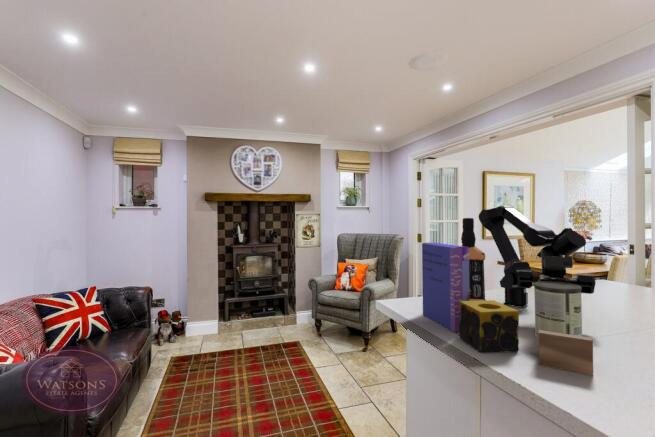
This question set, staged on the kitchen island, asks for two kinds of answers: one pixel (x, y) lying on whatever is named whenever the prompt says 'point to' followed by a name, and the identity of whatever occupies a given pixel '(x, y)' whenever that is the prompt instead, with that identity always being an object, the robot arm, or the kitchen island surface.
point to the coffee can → (558, 307)
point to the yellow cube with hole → (489, 326)
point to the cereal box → (445, 283)
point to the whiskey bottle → (474, 262)
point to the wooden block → (566, 352)
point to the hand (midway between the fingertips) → (555, 306)
